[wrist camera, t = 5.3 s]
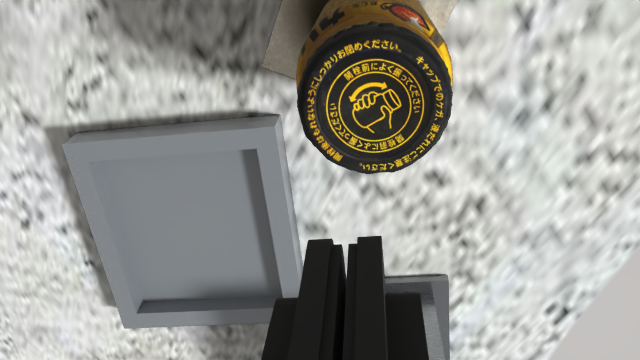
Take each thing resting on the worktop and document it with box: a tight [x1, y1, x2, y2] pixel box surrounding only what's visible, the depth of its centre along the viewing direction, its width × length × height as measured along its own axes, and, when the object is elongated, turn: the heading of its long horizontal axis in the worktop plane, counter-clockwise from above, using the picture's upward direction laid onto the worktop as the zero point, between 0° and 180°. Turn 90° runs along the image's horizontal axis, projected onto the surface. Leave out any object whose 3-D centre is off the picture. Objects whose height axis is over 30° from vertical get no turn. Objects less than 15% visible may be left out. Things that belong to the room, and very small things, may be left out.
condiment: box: [262, 0, 457, 174], centre depth 23 cm, size 7×8×12 cm
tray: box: [62, 115, 303, 328], centre depth 33 cm, size 13×12×2 cm
